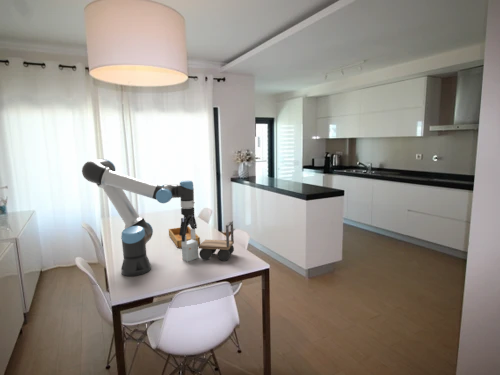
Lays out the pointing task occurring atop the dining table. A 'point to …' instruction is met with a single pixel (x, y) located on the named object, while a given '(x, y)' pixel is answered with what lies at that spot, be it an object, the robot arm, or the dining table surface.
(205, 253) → the trolley
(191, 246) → the small box
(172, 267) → the dining table surface
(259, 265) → the dining table surface
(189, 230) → the tray
